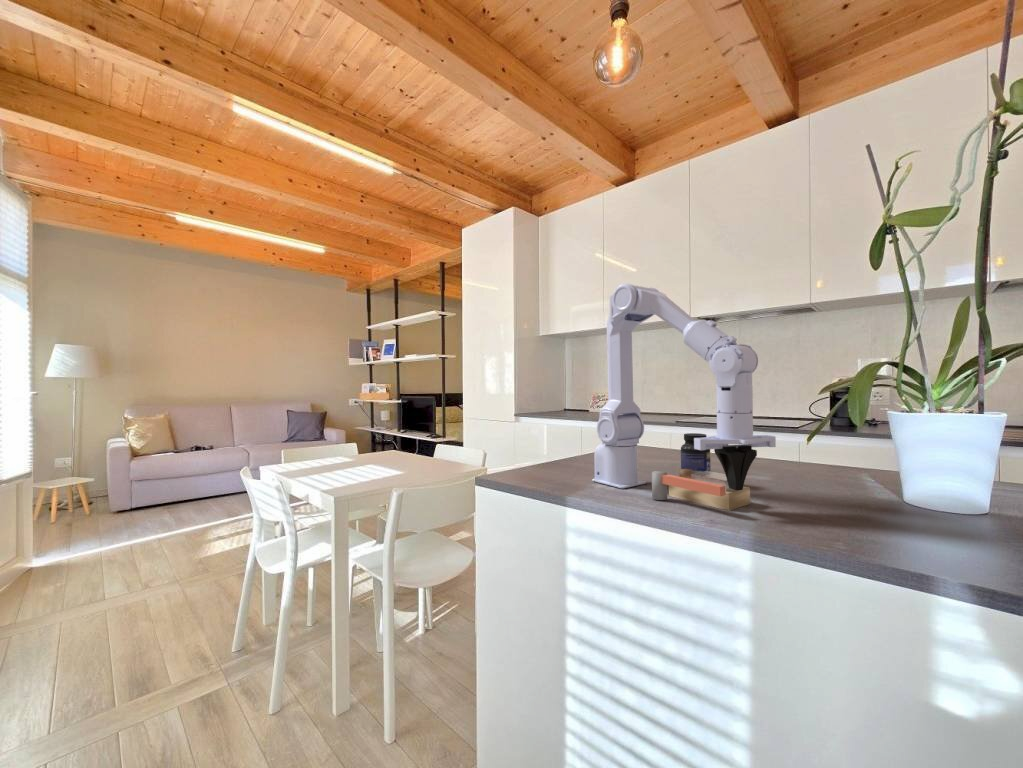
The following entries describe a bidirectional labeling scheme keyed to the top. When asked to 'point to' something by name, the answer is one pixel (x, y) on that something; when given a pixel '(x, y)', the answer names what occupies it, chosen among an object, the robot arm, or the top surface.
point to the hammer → (681, 485)
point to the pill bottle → (694, 455)
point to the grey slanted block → (712, 478)
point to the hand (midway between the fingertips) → (735, 488)
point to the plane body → (726, 502)
